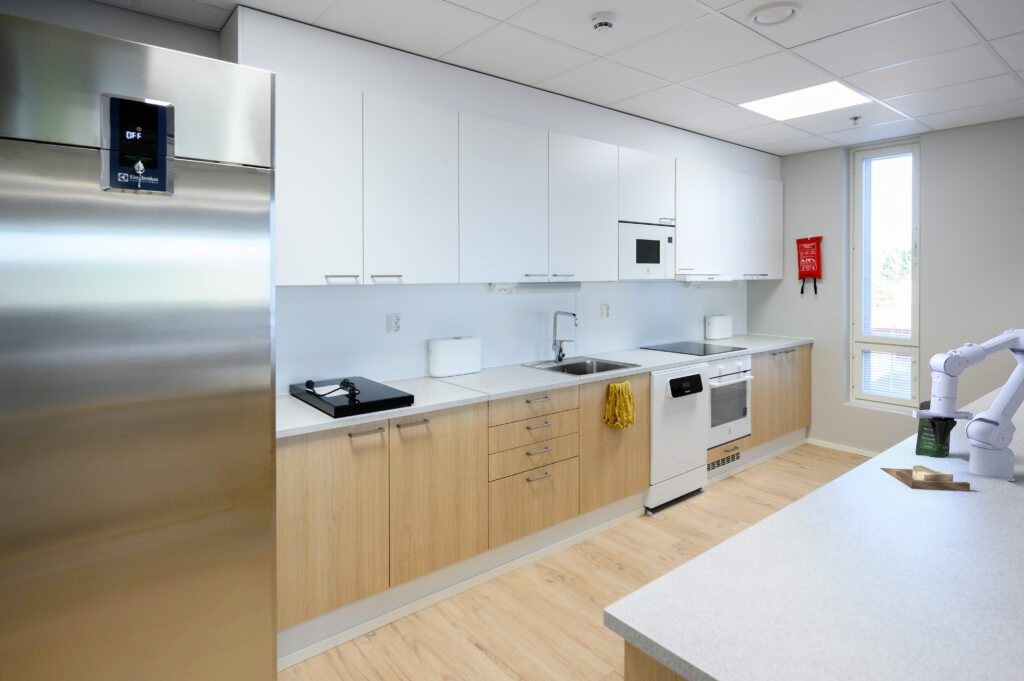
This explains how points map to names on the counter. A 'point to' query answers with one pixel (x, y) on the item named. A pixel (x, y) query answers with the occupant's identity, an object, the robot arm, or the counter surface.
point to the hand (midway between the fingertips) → (940, 443)
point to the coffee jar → (929, 438)
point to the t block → (930, 474)
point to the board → (925, 481)
